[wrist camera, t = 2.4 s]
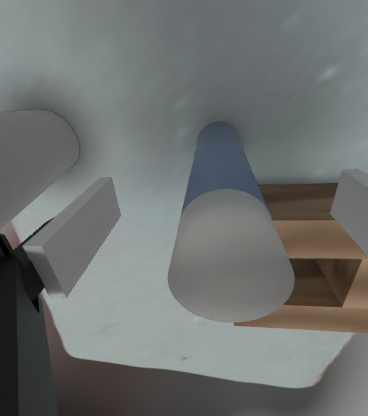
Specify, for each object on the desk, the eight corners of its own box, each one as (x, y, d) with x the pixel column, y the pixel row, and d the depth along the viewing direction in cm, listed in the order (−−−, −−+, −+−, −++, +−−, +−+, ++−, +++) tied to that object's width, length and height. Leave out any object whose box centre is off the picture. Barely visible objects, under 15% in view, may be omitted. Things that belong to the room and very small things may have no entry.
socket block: (233, 185, 25) (240, 220, 19) (378, 182, 23) (437, 219, 17) (230, 278, 32) (234, 325, 26) (340, 282, 30) (372, 333, 24)
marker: (196, 123, 22) (160, 234, 7) (238, 121, 22) (306, 235, 6) (198, 163, 24) (173, 319, 9) (237, 161, 24) (284, 325, 8)
